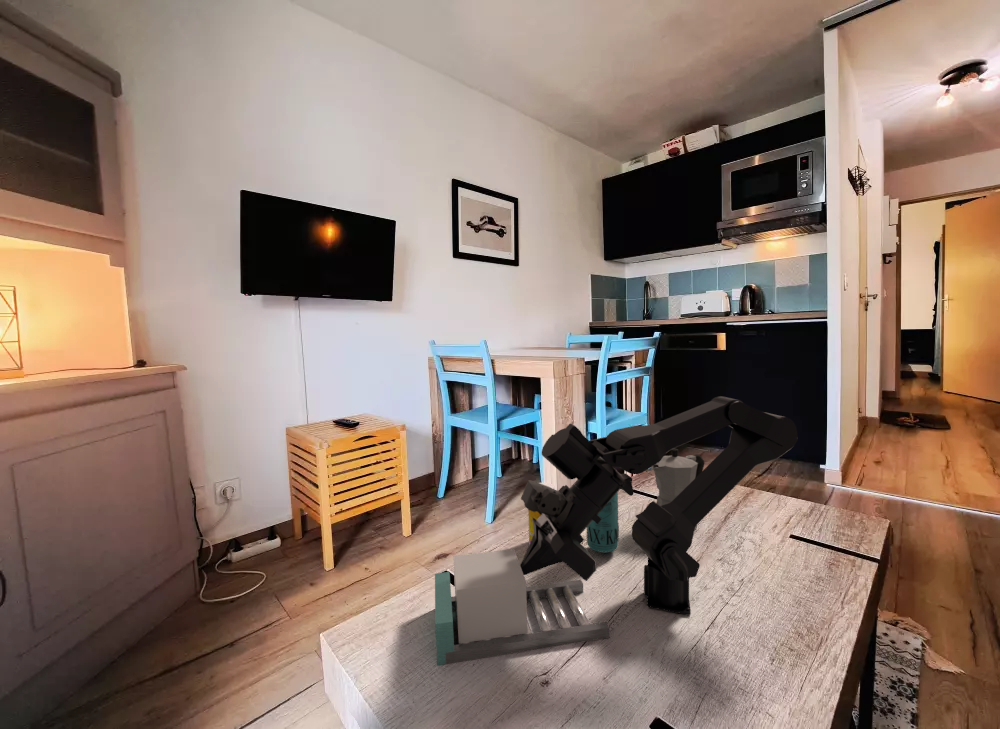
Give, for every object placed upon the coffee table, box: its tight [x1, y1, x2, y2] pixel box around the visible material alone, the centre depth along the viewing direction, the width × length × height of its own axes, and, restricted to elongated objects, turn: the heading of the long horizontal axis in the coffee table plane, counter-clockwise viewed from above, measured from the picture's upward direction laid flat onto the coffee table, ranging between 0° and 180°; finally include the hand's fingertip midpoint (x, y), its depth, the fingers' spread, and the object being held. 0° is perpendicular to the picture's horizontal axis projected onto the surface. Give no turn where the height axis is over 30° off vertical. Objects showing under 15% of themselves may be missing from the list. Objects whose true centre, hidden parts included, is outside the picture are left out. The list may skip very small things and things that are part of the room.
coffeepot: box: [650, 447, 705, 532], centre depth 93 cm, size 15×9×18 cm, turn 112°
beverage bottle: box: [585, 457, 620, 553], centre depth 83 cm, size 6×7×20 cm
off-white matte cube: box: [453, 548, 528, 644], centre depth 63 cm, size 10×9×8 cm
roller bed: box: [434, 571, 611, 666], centre depth 64 cm, size 12×25×6 cm, turn 99°
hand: (521, 572), depth 64 cm, fingers closed
